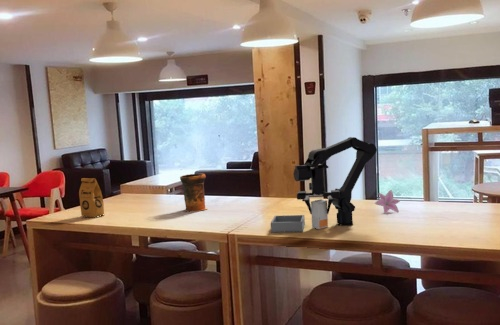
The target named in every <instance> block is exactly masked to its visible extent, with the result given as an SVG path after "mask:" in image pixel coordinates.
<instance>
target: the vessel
mask: <svg viewBox="0 0 500 325" xmlns="http://www.w3.org/2000/svg"><path fill="white" fill-rule="evenodd" d="M206 177H207V176H206V174H205V173H190V174H185V175H181V176H179V179H180V182H181V184H182V189H183V198H184V204H185V209H184V210H183V212H186V211H190V213H196V212H200V211H203V210H208V207H206V202H205V201H206V199H205V186H204V184H205V181H206Z"/></svg>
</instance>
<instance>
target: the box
mask: <svg viewBox="0 0 500 325" xmlns="http://www.w3.org/2000/svg"><path fill="white" fill-rule="evenodd" d="M305 226H306V222H305V214H297V215H295V214H290V215H289V214H287V215H274V217H273V218H272V219H271V222H270V231H271V234H272V233H273V234H274V233H275V234H276V233H279V234H280V233H282V234H283V233H285V234H286V233H303V232H304V230H305Z"/></svg>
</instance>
